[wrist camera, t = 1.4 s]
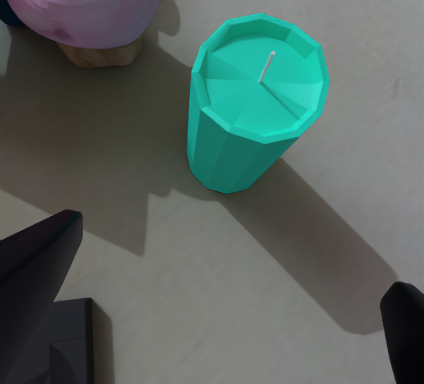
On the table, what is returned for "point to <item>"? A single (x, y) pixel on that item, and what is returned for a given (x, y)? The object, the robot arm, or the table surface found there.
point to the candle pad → (59, 347)
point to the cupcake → (90, 27)
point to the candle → (251, 99)
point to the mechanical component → (9, 15)
